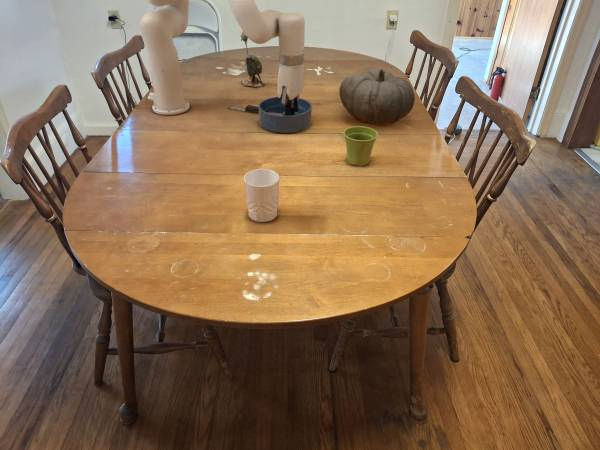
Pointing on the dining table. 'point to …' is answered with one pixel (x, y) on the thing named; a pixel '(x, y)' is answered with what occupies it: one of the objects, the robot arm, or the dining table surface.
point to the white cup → (262, 194)
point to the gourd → (377, 97)
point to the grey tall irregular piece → (252, 67)
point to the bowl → (284, 122)
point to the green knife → (281, 114)
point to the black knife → (247, 108)
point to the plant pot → (359, 144)
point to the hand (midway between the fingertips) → (291, 117)
